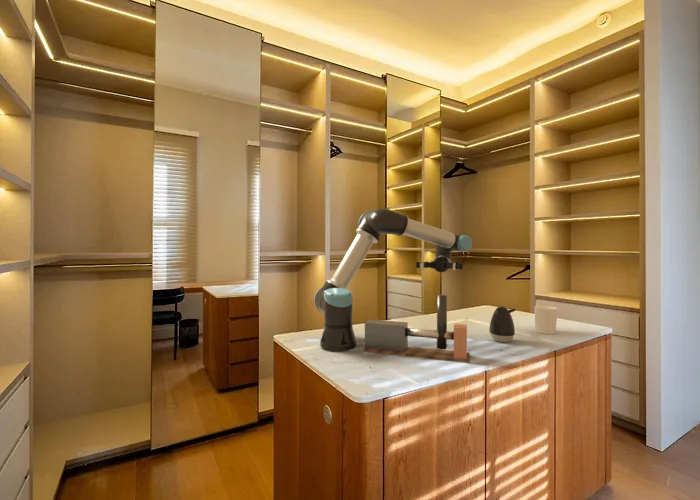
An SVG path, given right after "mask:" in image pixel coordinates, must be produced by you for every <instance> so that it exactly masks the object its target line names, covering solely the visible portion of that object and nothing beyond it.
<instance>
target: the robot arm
mask: <svg viewBox="0 0 700 500" xmlns="http://www.w3.org/2000/svg"><path fill="white" fill-rule="evenodd" d="M355 232H356V235H355V237H354V239H353V241H352V243H351V245H350V246H349V248H348V249H347V251H346V253H345V255H344V257H343V258H342V260H341V261H340V263H339V265H338V267H337V268H336V270H335V271H334V273H333V275H332V277H331V279H326V280H325V283H324V284H323V286H322V287H321V288H319V289H317V291H316V292H315V294H314V298H313V303H314V305H315V308H316V309H317V310H318V312H320V313H322V315H324V319H323V322H324V324H323V325H324V329H323V330H322V331H323V332H322V334H321V337H320V342H319V344H320V345H319V346H321V347H322V348H324V349H326V350H325V351H328V350H330V352H347V351H351V350H354V349H356V348H357V346H358V345H357V344H358V342H357V337H356V335H355V331H354V329H353V304H354V303H353V302H354V298H353V293H352V291H351V290H349V289H348V288H349V286H350V285H351V283H352V281H353V279H354V277H355V276H356V274H357V272H358V270H359V268H360V267H361V265H362V264H363V262H364V260H365V258H366V257H367V255H368V253H369V251H370V250H371V248H372V246H373V244H377V243H378V242H379V240H380V239H381V237H382V236H383V235H395V236H397V237H401V236H402V237H403V236H405V237H410V238H413V239H416V240H419V241H423V242H427V243H430V244H433V245H435V259H433V260H431V261H428V260H427V261H416V262H415V268H416V269H419V270H424V269H429V268H430V269H433V270H434V271H436V272H438V273H444V272H446V271H447V270H449V269H452V271H456V270H463V268H464V265H463V263H462V262H459V261H453V262H452V252H461V253H463V252H468V251H469V250H471V248H472V245H473V241H472V238H471V237H470V236H468V235H465V234H457V233H454V232H451V231H448V230H445V229H441V228H439V227H436V226H432V225H430V224H427V223H423V222H420V221H417V220H414V219H412V218H409V217H408V215H406V214H403V213H400V212H397V211H394V210H391V209H389V208H377V209H371V210H367V211H366V212H363V214H361V216H360V217H359V220H358V226H357V227H356V229H355ZM321 347H320V348H321ZM322 348H321V349H322ZM324 349H323V350H324Z"/></svg>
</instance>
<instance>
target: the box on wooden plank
mask: <svg viewBox="0 0 700 500" xmlns="http://www.w3.org/2000/svg"><path fill="white" fill-rule="evenodd" d="M408 325H409V324H408V322H407V321H396V320H381V319H368V320H367V321H365V322H364V348H368V349H378V350H388V351H398V352H405V351H406V349H407V347H409V344H408V343H409V341H408V337H409V336H405V328H409V327H408Z"/></svg>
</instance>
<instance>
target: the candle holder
mask: <svg viewBox="0 0 700 500" xmlns="http://www.w3.org/2000/svg"><path fill="white" fill-rule="evenodd" d="M533 309H534V322H535V323H534V326H535V332H536V333H538V332H539V333H538V334H542V333H544V334H543V335H555V334H556V330H557V321H558V307H556V306H552V305H534V306H533Z"/></svg>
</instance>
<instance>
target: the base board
mask: <svg viewBox="0 0 700 500" xmlns="http://www.w3.org/2000/svg"><path fill="white" fill-rule="evenodd" d="M363 352H364V353H375V354H382V355H383V354H385V355H392V356H393V355H394V356H401V357H402V356H403V357H413V358H423V359H431V360H440V361H441V360H442V361H451V362H458V363H459V362H461V363H469V364H470V363H471V362H470V361H471V360H470V356H471V355H470V351H467V359H465V358H455V357H454V350H449V349H438V348H427V347H418V346H417V347H416V346H408V347H407V349H406V351H405V352H398V351H388V350H378V349H368V348H365V347H364V348H363Z"/></svg>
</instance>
